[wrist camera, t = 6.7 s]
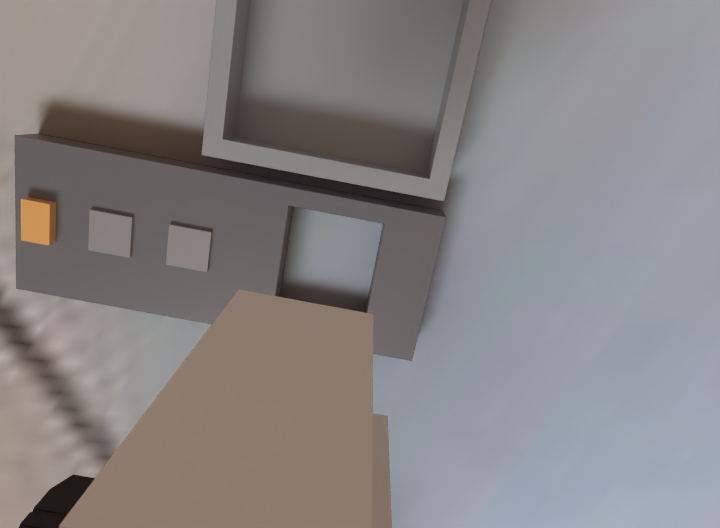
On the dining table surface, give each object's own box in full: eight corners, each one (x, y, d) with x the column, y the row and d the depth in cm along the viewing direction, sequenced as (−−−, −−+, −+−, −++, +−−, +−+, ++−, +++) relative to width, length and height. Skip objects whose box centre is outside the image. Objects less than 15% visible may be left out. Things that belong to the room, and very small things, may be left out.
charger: (219, 442, 19) (54, 797, 9) (239, 289, 17) (59, 525, 7) (341, 464, 19) (306, 837, 9) (373, 314, 17) (371, 578, 7)
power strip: (37, 278, 32) (9, 292, 30) (37, 133, 30) (7, 135, 27) (409, 346, 33) (412, 365, 30) (441, 210, 30) (447, 219, 28)
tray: (218, 150, 30) (201, 155, 27) (244, -106, 26) (228, -133, 23) (437, 192, 30) (443, 201, 27) (494, -56, 26) (509, -76, 24)
